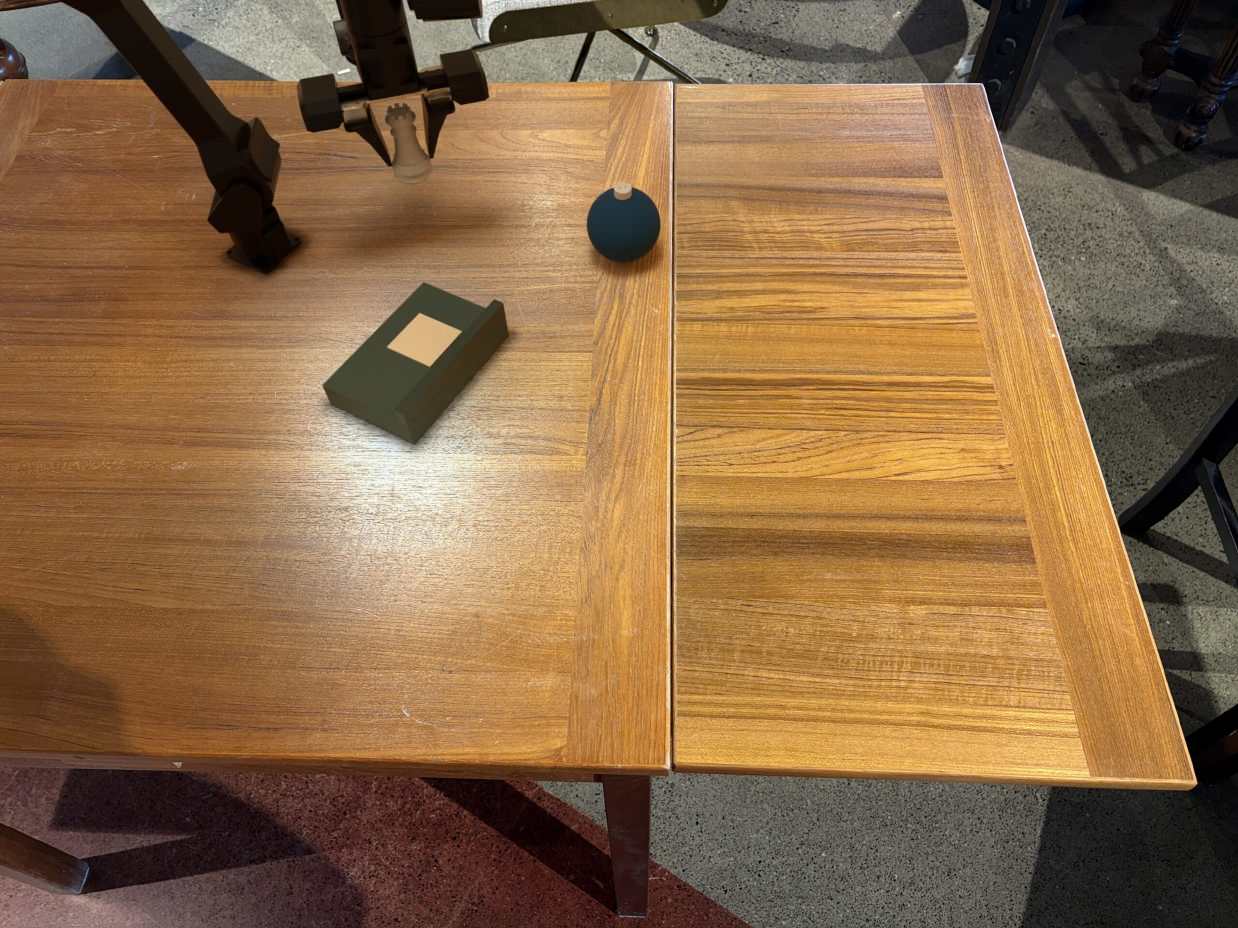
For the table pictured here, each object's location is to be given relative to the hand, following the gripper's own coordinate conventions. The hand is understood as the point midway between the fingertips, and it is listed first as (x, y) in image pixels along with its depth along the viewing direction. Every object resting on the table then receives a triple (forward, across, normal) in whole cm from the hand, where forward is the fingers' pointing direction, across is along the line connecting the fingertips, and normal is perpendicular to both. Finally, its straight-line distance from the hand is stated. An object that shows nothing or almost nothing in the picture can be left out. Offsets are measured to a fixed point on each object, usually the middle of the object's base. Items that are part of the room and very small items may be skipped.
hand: (410, 160), depth 98 cm
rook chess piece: (+2, 0, 0) cm, 2 cm away
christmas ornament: (+11, -22, +10) cm, 26 cm away
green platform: (+11, +4, +20) cm, 24 cm away
